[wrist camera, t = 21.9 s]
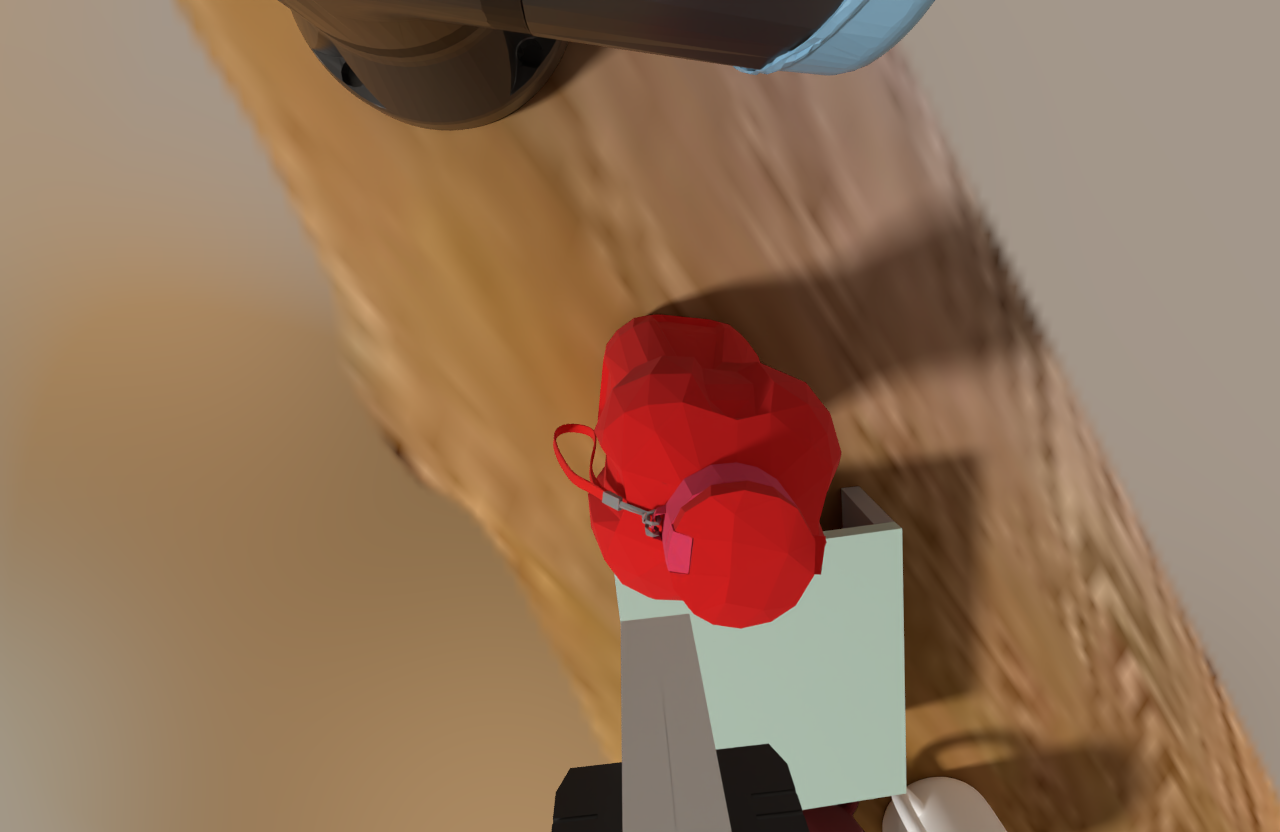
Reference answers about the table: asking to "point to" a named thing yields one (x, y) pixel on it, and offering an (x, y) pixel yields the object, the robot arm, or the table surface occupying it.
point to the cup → (940, 809)
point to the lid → (815, 672)
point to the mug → (833, 818)
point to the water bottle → (707, 471)
